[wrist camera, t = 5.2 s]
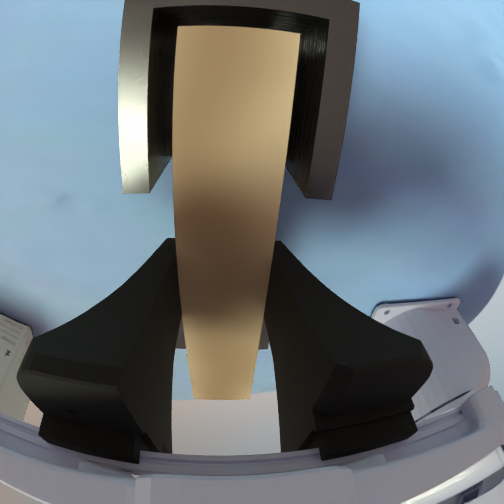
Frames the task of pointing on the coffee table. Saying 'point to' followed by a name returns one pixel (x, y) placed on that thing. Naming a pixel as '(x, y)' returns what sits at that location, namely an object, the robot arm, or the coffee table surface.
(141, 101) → the dark grey open box
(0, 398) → the supplement box
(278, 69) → the rail
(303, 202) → the coffee table surface
